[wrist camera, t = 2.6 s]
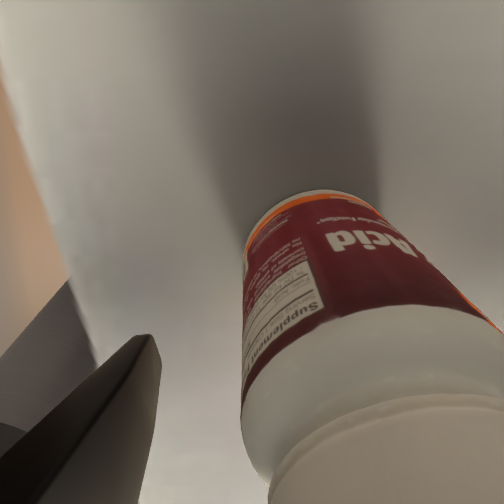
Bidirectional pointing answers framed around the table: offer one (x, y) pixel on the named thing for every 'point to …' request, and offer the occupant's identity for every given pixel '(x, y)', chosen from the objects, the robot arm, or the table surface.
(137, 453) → the robot arm
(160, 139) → the table surface
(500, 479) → the pill bottle
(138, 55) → the table surface
